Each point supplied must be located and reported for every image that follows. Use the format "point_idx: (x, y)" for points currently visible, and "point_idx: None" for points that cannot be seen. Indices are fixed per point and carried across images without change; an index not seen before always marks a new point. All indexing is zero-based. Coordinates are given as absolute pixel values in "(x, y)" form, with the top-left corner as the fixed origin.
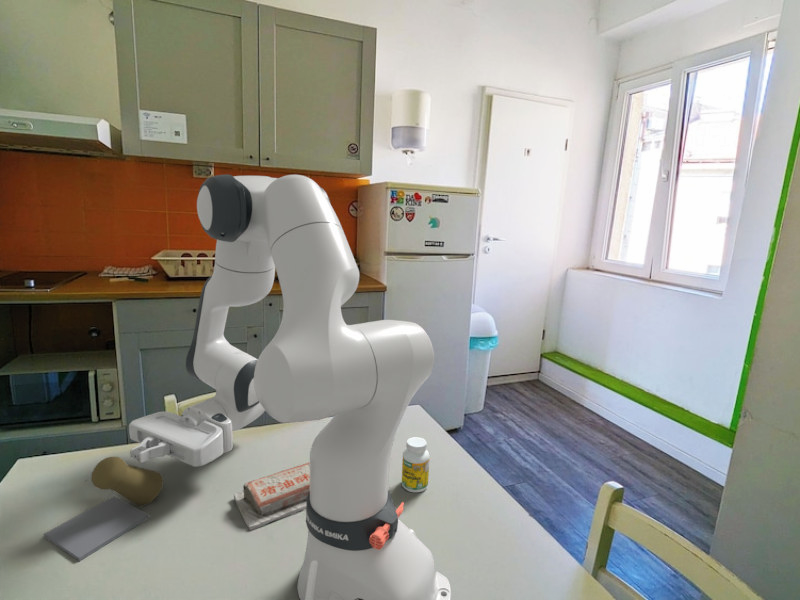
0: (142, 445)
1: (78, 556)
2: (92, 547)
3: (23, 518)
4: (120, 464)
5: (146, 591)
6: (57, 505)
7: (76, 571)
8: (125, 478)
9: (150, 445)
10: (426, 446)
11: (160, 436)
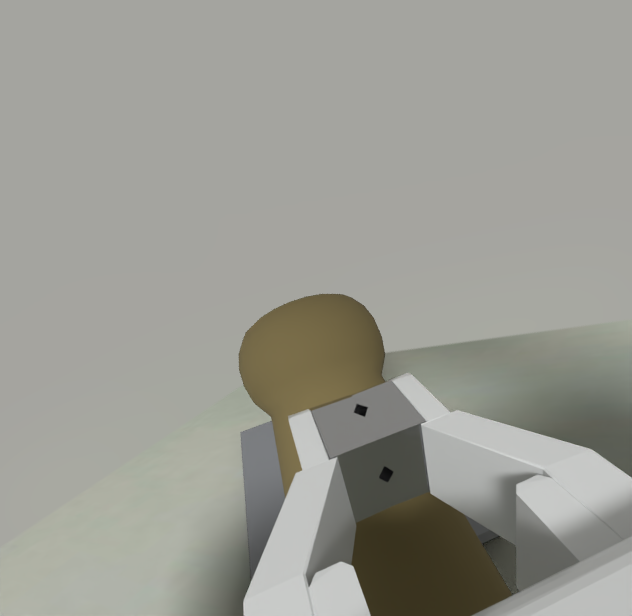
0: (427, 426)
1: (246, 431)
2: (250, 453)
3: (485, 355)
4: (251, 341)
5: (4, 548)
6: (523, 395)
7: (219, 436)
8: (272, 423)
9: (519, 542)
10: None
11: (493, 609)
